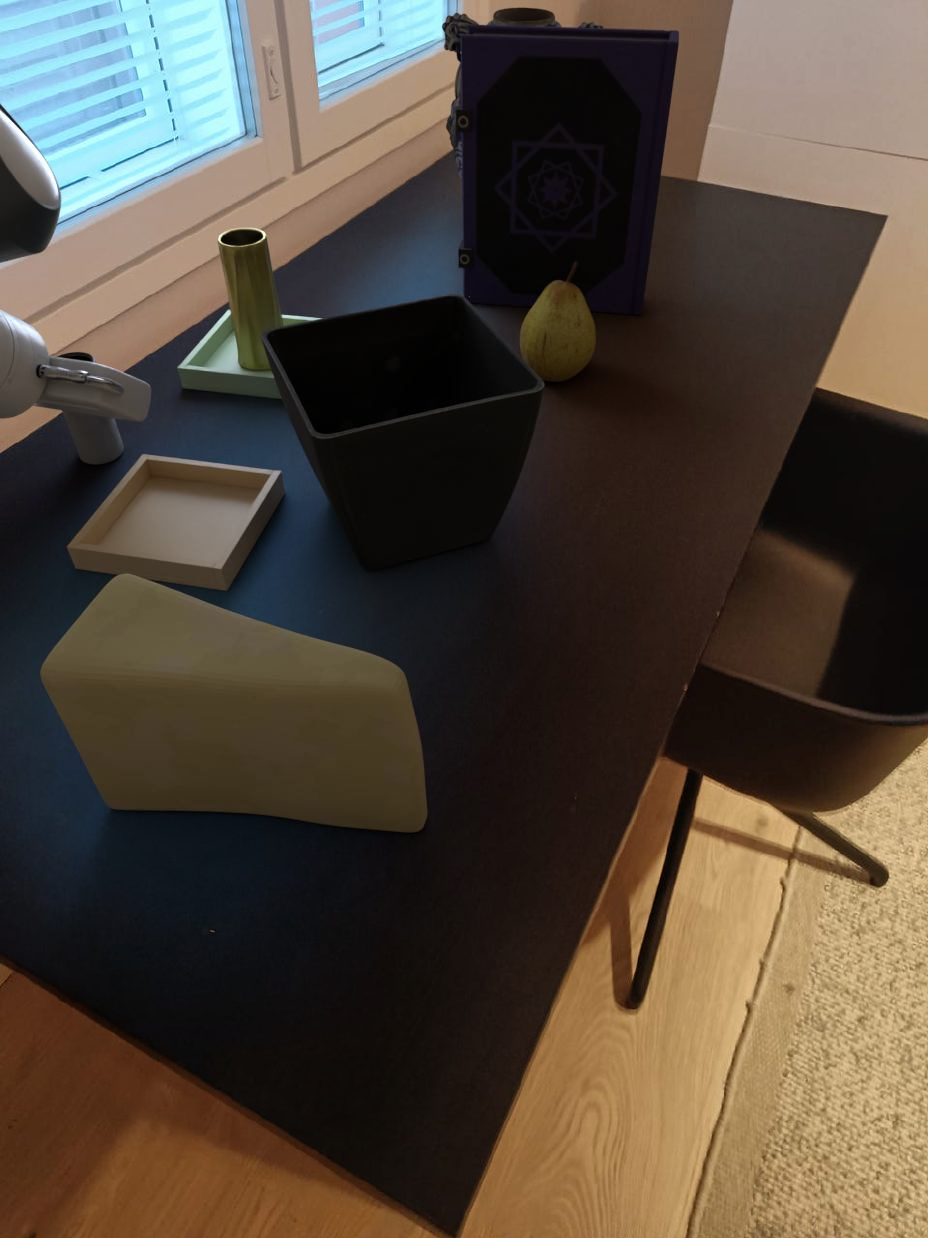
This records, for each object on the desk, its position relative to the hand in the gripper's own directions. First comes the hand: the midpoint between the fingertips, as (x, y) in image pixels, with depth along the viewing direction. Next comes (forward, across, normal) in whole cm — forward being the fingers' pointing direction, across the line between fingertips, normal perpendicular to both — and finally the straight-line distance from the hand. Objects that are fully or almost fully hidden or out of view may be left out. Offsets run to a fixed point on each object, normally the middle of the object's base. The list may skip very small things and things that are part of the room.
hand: (89, 404), depth 90 cm
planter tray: (-3, -14, +11) cm, 18 cm away
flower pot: (+2, -34, +6) cm, 35 cm away
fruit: (+24, -43, -16) cm, 51 cm away
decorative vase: (+49, -30, -41) cm, 71 cm away
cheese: (-21, -35, +28) cm, 50 cm away
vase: (+18, -9, -11) cm, 23 cm away
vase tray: (+19, -9, -11) cm, 23 cm away
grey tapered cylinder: (+4, 0, +4) cm, 6 cm away
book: (+36, -39, -28) cm, 60 cm away
